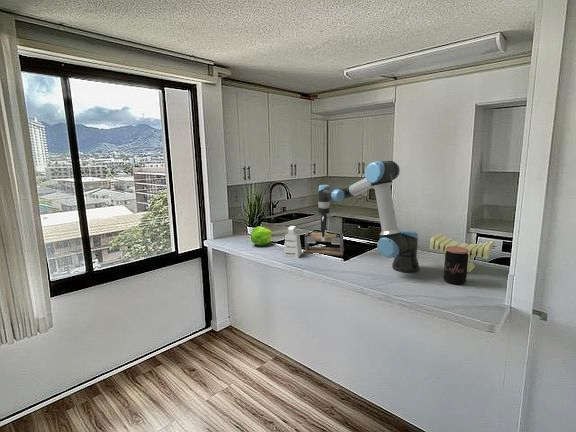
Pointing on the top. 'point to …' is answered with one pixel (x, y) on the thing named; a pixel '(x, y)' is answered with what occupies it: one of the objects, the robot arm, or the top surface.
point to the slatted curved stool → (474, 249)
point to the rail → (327, 236)
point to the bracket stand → (324, 249)
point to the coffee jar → (456, 265)
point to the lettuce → (261, 236)
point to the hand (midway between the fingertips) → (323, 240)
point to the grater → (292, 243)
